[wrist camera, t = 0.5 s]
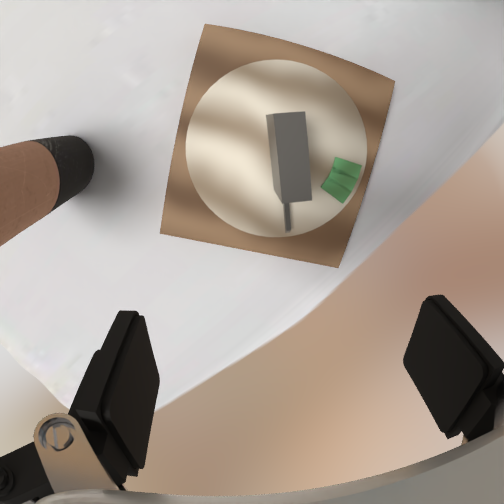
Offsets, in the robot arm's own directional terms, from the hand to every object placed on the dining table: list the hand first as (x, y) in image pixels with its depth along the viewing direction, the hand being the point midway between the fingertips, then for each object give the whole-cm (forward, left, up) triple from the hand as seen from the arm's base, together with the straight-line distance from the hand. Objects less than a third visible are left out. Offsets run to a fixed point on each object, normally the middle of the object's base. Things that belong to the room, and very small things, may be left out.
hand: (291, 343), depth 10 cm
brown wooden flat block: (-4, +2, -26) cm, 26 cm away
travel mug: (+2, -21, -26) cm, 33 cm away
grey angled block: (-2, +3, -22) cm, 22 cm away
